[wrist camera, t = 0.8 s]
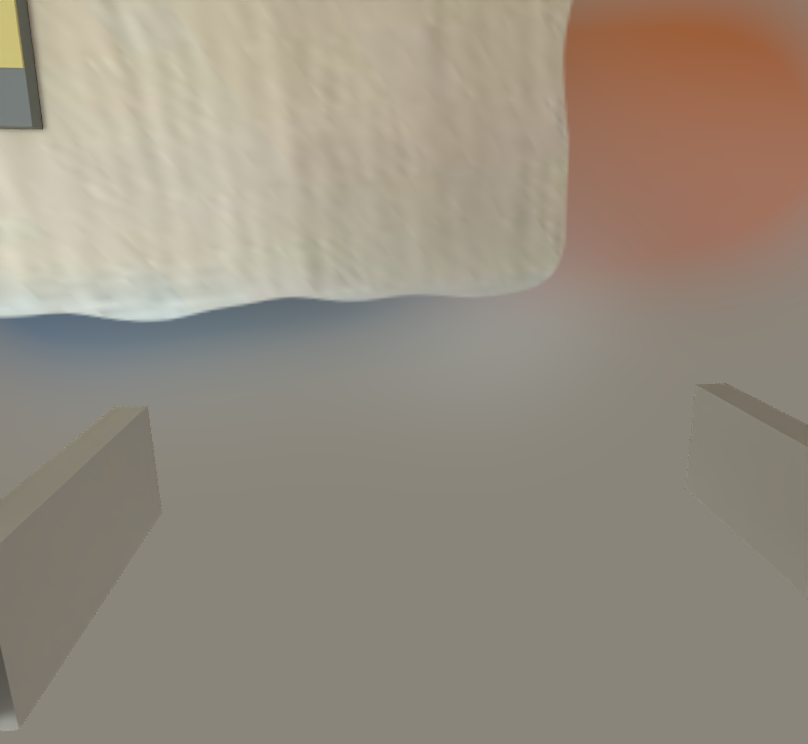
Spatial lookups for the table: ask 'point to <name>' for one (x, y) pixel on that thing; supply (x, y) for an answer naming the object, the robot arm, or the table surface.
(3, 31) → the pad
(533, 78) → the table surface
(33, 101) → the panel
